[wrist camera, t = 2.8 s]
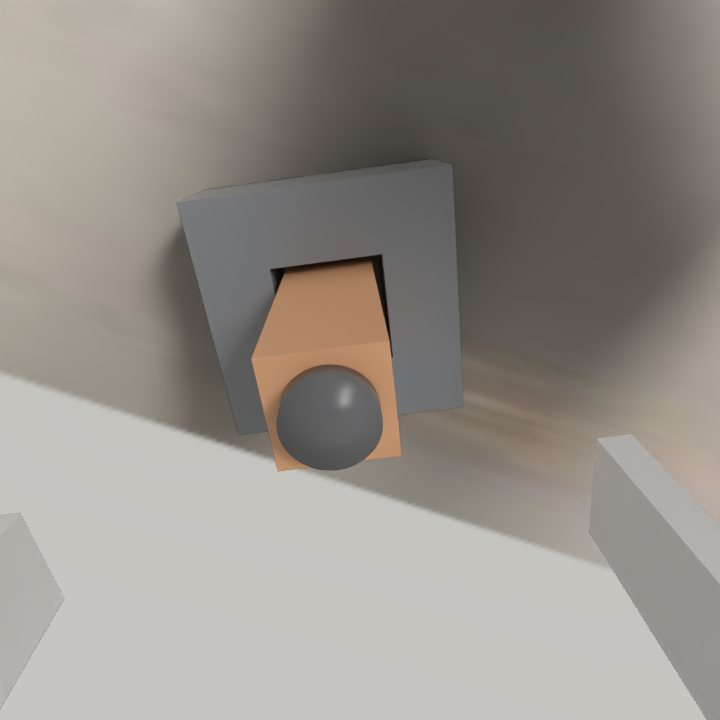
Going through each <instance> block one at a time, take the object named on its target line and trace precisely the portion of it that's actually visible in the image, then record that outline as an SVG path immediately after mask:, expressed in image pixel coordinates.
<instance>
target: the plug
mask: <svg viewBox="0 0 720 720" xmlns="http://www.w3.org/2000/svg"><path fill="white" fill-rule="evenodd" d="M251 360H252V364H253V368H254V372H255V376H256V381H257V385H258V389H259V393H260V398H261V402H262V406H263V410H264V414H265V419H266V423H267V427H268V431H269V436H270V440H271V444H272V448H273V453H274V457H275V461H276V465H277V469H278V471H284V470H292V469H301V468H309V467H311V468H315V469H320V470H340V469H345V468H348V467H351V466H354V465H356V464H358V463H360V462H361V461H365V460H374V459H382V458H390V457H398V456H402V452H401V442H400V433H399V424H398V415H397V406H396V396H395V387H394V378H393V369H392V360H391V350H390V341H389V337H388V332H387V328H386V323H385V319H384V315H383V310H382V306H381V301H380V297H379V293H378V288H377V284H376V279H375V275H374V271H373V266H372V262H371V257H370V256H365V257H358V258H350V259H343V260H335V261H327V262H320V263H312V264H305V265H297V266H289V267H287V268H286V271H285V273H284V276H283V278H282V281H281V284H280V286H279V289H278V291H277V294H276V296H275V299H274V302H273V304H272V307H271V309H270V312H269V314H268V317H267V320H266V322H265V325H264V327H263V330H262V333H261V335H260V338H259V340H258V343H257V345H256V348H255V351H254V353H253V356H252V358H251Z"/></svg>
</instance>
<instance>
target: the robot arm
mask: <svg viewBox="0 0 720 720" xmlns="http://www.w3.org/2000/svg"><path fill="white" fill-rule="evenodd" d="M589 533H590V535H591V536H592V538H593V540H594V541H595V543H596V544H597V546H598V547H599V549H600V551H601V552H602V554H603V555H604V557H605V559H606V560H607V562H608V563H609V565H610V567H611V568H612V570H613V571H614V573H615V574H616V576H617V578H618V579H619V581H620V582H621V584H622V586H623V587H624V589H625V590H626V592H627V594H628V595H629V597H630V598H631V600H632V602H633V603H634V604H635V606H636V608H637V609H638V611H639V613H640V614H641V616H642V617H643V619H644V621H645V622H646V624H647V625H648V627H649V629H650V630H651V632H652V633H653V635H654V636H655V638H656V640H657V641H658V643H659V644H660V646H661V647H662V649H663V651H664V652H665V654H666V656H667V657H668V659H669V660H670V662H671V663H672V665H673V667H674V668H675V670H676V671H677V673H678V675H679V676H680V678H681V679H682V681H683V683H684V684H685V686H686V687H687V689H688V690H689V692H690V694H691V695H692V697H693V698H694V700H695V701H696V703H697V705H698V706H699V708H700V710H701V711H702V713H703V714H704V716H705V718H706V719H707V720H720V525H719V524H718V523H717V522H716V521H715V520H714V519H713V518H712V517H711V516H710V515H709V514H708V513H707V512H706V511H705V510H704V509H703V508H702V507H701V506H700V505H699V504H698V503H697V502H696V501H695V500H694V499H693V498H692V497H691V496H690V494H689V493H688V492H687V491H686V490H685V489H684V488H683V487H682V486H681V485H680V484H679V483H678V482H677V481H676V480H675V479H674V478H673V477H672V476H671V475H670V474H669V473H668V472H667V471H666V470H665V469H664V468H663V467H662V466H661V465H660V464H659V463H658V462H657V460H656V459H655V458H654V457H653V456H652V455H651V454H650V453H649V452H648V451H647V450H646V449H645V448H644V447H643V446H642V445H641V444H640V443H639V442H638V441H637V440H636V439H635V438H634V437H633V436H632V435H631V434H628V435H620V436H612V437H604V438H597V441H596V453H595V465H594V477H593V489H592V502H591V514H590V526H589ZM63 600H64V597H63V595H62V593H61V591H60V589H59V587H58V585H57V583H56V581H55V579H54V577H53V575H52V573H51V572H50V570H49V568H48V566H47V564H46V562H45V560H44V558H43V556H42V554H41V552H40V550H39V548H38V546H37V544H36V542H35V541H34V539H33V537H32V535H31V533H30V531H29V529H28V527H27V525H26V523H25V521H24V519H23V517H22V515H21V513H15V514H6V515H0V709H1V707H2V705H3V704H4V702H5V700H6V698H7V697H8V695H9V693H10V691H11V690H12V688H13V686H14V685H15V683H16V681H17V679H18V678H19V676H20V674H21V673H22V671H23V669H24V667H25V666H26V663H27V662H28V660H29V659H30V657H31V655H32V653H33V652H34V650H35V648H36V647H37V645H38V643H39V642H40V640H41V638H42V636H43V635H44V633H45V631H46V630H47V628H48V626H49V624H50V622H51V621H52V619H53V617H54V616H55V614H56V612H57V611H58V609H59V607H60V605H61V604H62V602H63Z"/></svg>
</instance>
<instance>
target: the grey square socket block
mask: <svg viewBox="0 0 720 720" xmlns="http://www.w3.org/2000/svg"><path fill="white" fill-rule="evenodd" d="M177 206H178V210H179V214H180V218H181V221H182V225H183V229H184V233H185V236H186V240H187V244H188V248H189V251H190V255H191V259H192V263H193V266H194V270H195V274H196V278H197V281H198V285H199V289H200V293H201V296H202V300H203V304H204V308H205V311H206V315H207V319H208V323H209V326H210V330H211V334H212V338H213V341H214V345H215V349H216V353H217V356H218V360H219V364H220V368H221V371H222V375H223V379H224V383H225V386H226V390H227V394H228V398H229V401H230V405H231V409H232V413H233V416H234V420H235V424H236V428H237V431H238V435H245V434H253V433H261V432H269V431H268V427H267V423H266V419H265V414H264V410H263V406H262V402H261V398H260V393H259V389H258V385H257V381H256V376H255V372H254V368H253V364H252V360H251V358H252V356H253V353H254V351H255V348H256V345H257V343H258V340H259V338H260V335H261V333H262V330H263V327H264V325H265V322H266V320H267V317H268V314H269V312H270V309H271V307H272V304H273V302H274V299H275V296H276V294H277V291H278V289H279V286H280V284H281V281H282V278H283V276H284V273H285V271H286V268H287V267H289V266H297V265H305V264H312V263H320V262H327V261H335V260H343V259H350V258H358V257H365V256H370V257H371V262H372V266H373V271H374V275H375V279H376V284H377V288H378V293H379V297H380V301H381V306H382V310H383V315H384V319H385V323H386V328H387V332H388V337H389V341H390V350H391V360H392V369H393V378H394V387H395V396H396V406H397V415H405V414H413V413H421V412H429V411H437V410H445V409H453V408H461V407H464V406H463V384H462V361H461V339H460V317H459V294H458V272H457V250H456V227H455V205H454V183H453V165H450V164H447V163H444V162H441V161H438V160H436V159H428V160H421V161H413V162H406V163H399V164H391V165H384V166H376V167H369V168H362V169H354V170H347V171H340V172H332V173H325V174H317V175H310V176H303V177H295V178H288V179H281V180H273V181H266V182H258V183H251V184H244V185H236V186H229V187H222V188H214V189H207V190H203V191H201V192H199V193H197V194H194V195H192V196H190V197H188V198H186V199H183V200H181V201H179V202H177Z"/></svg>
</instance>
